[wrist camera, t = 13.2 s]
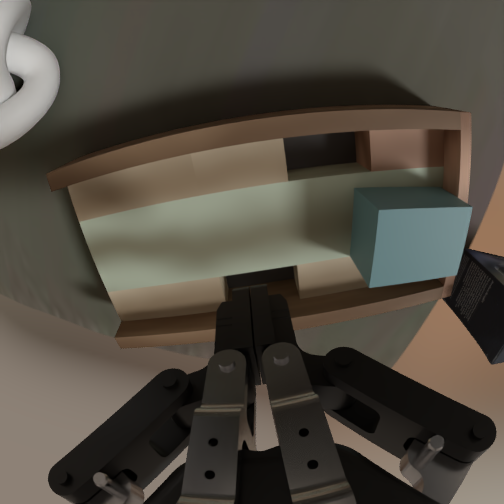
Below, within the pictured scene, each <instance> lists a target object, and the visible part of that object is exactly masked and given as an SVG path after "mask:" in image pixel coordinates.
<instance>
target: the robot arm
mask: <svg viewBox="0 0 504 504" xmlns="http://www.w3.org/2000/svg"><path fill="white" fill-rule="evenodd" d="M250 292H251V295H250ZM260 373H261V378H262V383H263V384H267V389H268V395H269V400H270V405H271V409H272V414H273V419H274V424H275V428H276V433H277V438H278V443H279V446H276V447H274V448H271V449H268V450H265V451H257V449H256V388H255V385H261V378H260ZM324 411H325V412H326V413H327V414H328V415H330V416H331V417H333V418H335V419H336V420H338V421H339V422H340V423H342V424H343V425H345V426H347V427H348V428H350V429H351V430H353V431H354V432H356V433H358V434H359V435H361V436H362V437H364V438H366V439H367V440H369V441H371V442H372V443H374V444H376V445H377V446H379V447H381V448H382V449H384V450H386V451H387V452H389V453H391V454H392V455H394V456H396V457H398V458H400V459H401V461H400V466H399V467H400V471H401V473H402V475H403V476H404V477H405V478H406V479H407V480H409V482H410V483H411V484H412V486H413V487H411V486H409V485H408V484H406V483H404V482H403V481H401V480H400V479H398V478H396V477H395V476H393V475H392V474H390V473H388V472H387V471H385V470H384V469H382V468H381V467H379V466H378V465H376V464H374V463H373V462H372V461H370V460H369V459H367V458H366V457H364V456H362V455H361V454H360V453H358V452H357V451H355V450H353V449H351V448H349V447H347V446H344V445H340V444H336V443H334V441H333V437H332V434H331V432H330V429H329V425H328V422H327V419H326V417H325V413H324ZM495 438H496V427H495V424H494V422H493V421H492V420H491V419H490V418H489V417H488V416H486V415H484V414H481V413H479V412H477V411H475V410H473V409H471V408H468V407H467V406H465V405H463V404H460V403H458V402H456V401H454V400H452V399H450V398H448V397H446V396H444V395H442V394H440V393H438V392H436V391H434V390H432V389H429V388H428V387H426V386H424V385H422V384H420V383H418V382H416V381H414V380H412V379H410V378H408V377H406V376H404V375H402V374H400V373H398V372H397V371H395V370H393V369H391V368H389V367H387V366H385V365H383V364H381V363H379V362H377V361H376V360H374V359H372V358H370V357H368V356H366V355H364V354H362V353H360V352H359V351H357V350H355V349H353V348H349V347H338V348H335V349H333V350H331V351H329V352H328V353H327V354H326V356H319V355H311V354H308V353H306V352H304V351H302V350H301V349H300V348H299V347H298V345H297V342H296V338H295V334H294V329H293V325H292V321H291V317H290V312H289V307H288V303H287V300H286V299H285V298H284V297H283V296H282V295H281V294H275V295H268V290H267V284H263V285H257V286H250V290H249V287H243V288H236V289H232V301H226V302H222V303H221V304H220V306H219V307H218V309H217V313H216V330H215V349H214V355H213V356H212V357H211V358H210V360H209V362H208V365H207V366H206V367H205V368H203V369H201V370H199V371H196V372H193V373H191V374H188V375H187V374H186V373H185V372H184V371H182V370H180V369H167V370H164V371H162V372H161V373H160V374H158V375H157V376H156V377H155V378H153V379H152V380H151V381H150V382H149V383H148V384H147V385H146V386H145V387H143V388H142V389H141V390H140V391H139V392H138V393H137V394H136V395H135V396H133V397H132V398H131V399H130V400H129V401H128V402H127V403H126V404H124V405H123V406H122V407H121V408H120V409H119V410H118V411H117V412H115V413H114V414H113V415H112V416H111V417H110V418H109V419H107V421H105V422H104V423H103V424H102V425H101V426H99V427H98V428H97V429H96V430H95V431H94V432H93V433H91V434H90V435H89V436H88V437H87V438H86V439H84V440H83V441H82V442H81V443H80V444H79V445H78V446H76V447H75V448H74V449H73V450H72V451H71V452H69V453H68V454H67V455H66V456H65V457H63V458H62V459H61V460H60V461H59V462H57V463H56V464H55V465H54V466H53V467H52V468H51V470H50V472H49V476H48V482H49V485H50V488H51V489H52V490H53V491H54V492H55V493H56V494H58V495H60V496H61V497H63V498H65V499H67V500H68V501H69V502H71V503H72V504H449V503H450V501H451V500H452V498H453V497H454V495H455V493H456V491H457V490H458V488H459V487H460V485H461V483H462V482H463V480H464V478H465V476H466V474H467V473H468V471H469V469H470V467H471V465H472V463H473V462H474V461H475V460H476V459H478V458H479V457H480V456H481V455H482V454H483V453H484V452H485V451H486V450H487V449H488V448H489V447H490V446H491V445H492V444H493V442H494V440H495ZM188 445H189V446H188ZM187 446H188V452H187V458H186V463H184V464H182V465H181V466H179V467H178V468H177V469H176V470H175V471H174V472H173V473H172V474H171V475H170V476H169V477H168V478H167V479H166V480H165V481H164V482H163V483H162V484H161V485H160V487H158V488H157V490H156V491H155V492H154V493H153V494H152V495H151V496H150V497H149V498H148V499H147V500H146V501H145V502H144V492H143V489H144V488H145V487H147V486H148V485H149V484H150V483H151V482H152V481H153V480H154V479H155V478H156V477H157V476H158V475H159V474H160V473H161V472H162V471H163V470H164V469H165V468H166V467H167V466H168V465H169V464H170V463H171V462H172V461H173V460H174V459H175V458H176V457H177V456H178V455H179V454H180V453H181V452H182V451H183V450H184V449H185V448H186V447H187Z"/></svg>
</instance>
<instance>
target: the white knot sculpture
mask: <svg viewBox="0 0 504 504" xmlns="http://www.w3.org/2000/svg"><path fill="white" fill-rule="evenodd" d="M30 12H31V2H30V0H0V149H2V148H4V147H6V146H8V145H9V144H11V143H13V142H14V141H16V140H18V139H19V138H20V137H22V136H23V135H24V134H25V133H27V132H28V131H29V130H30V129H32V127H33V126H34V125H35V124H36V123H37V122H38V121H39V120H40V119H41V118H42V117H43V116H44V115H45V114H46V112H47V111H48V109H49V108H50V107H51V105H52V104H53V102H54V100H55V97H56V95H57V93H58V89H59V85H60V68H59V64H58V60H57V59H56V57H55V55H54V53H53V52H52V51H51V50H50V49H49V48H48V47H47V46H45V45H44V44H42V43H41V42H39V41H37V40H36V39H34V38H32V37H29V36H26V35H24V33H25V30H26V27H27V24H28V21H29V17H30ZM10 73H11V74H14V75H17V76H19V77H21V78H22V79H23V80H24V84H23V86H22V88H21V89H20V90H19V91H18V92H16V88H15V84H14V81H13V79H12V77H11V75H10Z"/></svg>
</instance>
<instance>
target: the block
mask: <svg viewBox="0 0 504 504" xmlns="http://www.w3.org/2000/svg"><path fill="white" fill-rule="evenodd" d="M471 213H472V206H470V205H469V204H467V203H466V202H464V201H462V200H461V199H459V198H458V197H456V196H454V195H453V194H451V193H449V192H448V191H446V190H444V189H443V188H441V187H365V188H354V202H353V219H352V234H351V247H350V257H351V259H352V260H353V262H354V264H355V265H356V267H357V269H358V270H359V272H360V274H361V275H362V277H363V279H364V280H365V282H366V284H367V285H368V287H369V288H373V287H381V286H388V285H395V284H403V283H410V282H417V281H423V280H430V279H436V278H443V277H449V276H455V275H457V272H458V269H459V265H460V261H461V257H462V254H463V250H464V245H465V241H466V237H467V232H468V228H469V223H470V218H471Z"/></svg>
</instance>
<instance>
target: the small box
mask: <svg viewBox="0 0 504 504" xmlns="http://www.w3.org/2000/svg"><path fill="white" fill-rule="evenodd" d="M442 299H443V300H444V301H445V302H446V304H447V305H448V306H449V307H450V308H451V309H452V310H453V312H454V313H455V314H456V316H457V317H458V318H459V319H460V321H461V322H462V323H463V325H464V326H465V327H466V328H467V330H468V331H469V332H470V334H471V335H472V336H473V338H474V339H475V340H476V341H477V343H478V344H479V346H480V348H481V349H482V351H483V352H484V354H485V355H486V357H487V359H488V361H489V362H490V363H491V364H497V363H502V362H504V257H502V256H497V255H493V254H489V253H485V252H480V251H476V250H471V249H467V248H464V250H463V254H462V257H461V261H460V265H459V269H458V272H457V275H455V280H454V284H453V288H452V292H451V296H449V297H445V298H442Z"/></svg>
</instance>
